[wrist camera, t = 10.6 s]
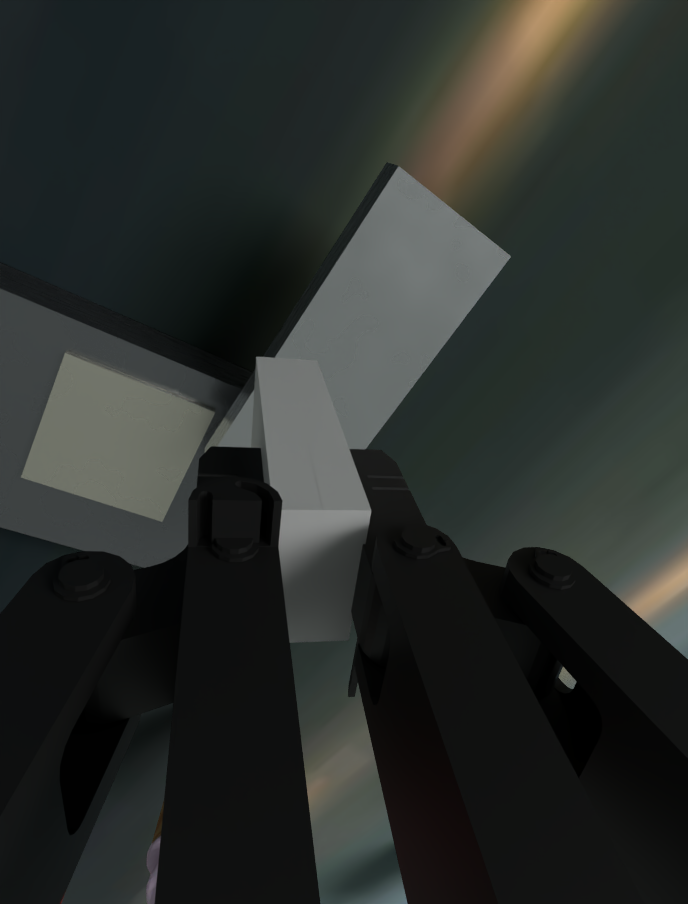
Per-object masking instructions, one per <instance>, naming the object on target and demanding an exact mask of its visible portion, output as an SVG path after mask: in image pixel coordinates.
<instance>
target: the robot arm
mask: <svg viewBox="0 0 688 904" xmlns="http://www.w3.org/2000/svg"><path fill="white" fill-rule="evenodd" d="M352 618H353V621H354V625H355V629H356V633H357V637H358V638H357V643H356V649H355V654H354V659H353V665H352V670H351V675H350V681H349V689H348V697H355V692H356V687H357V683H358V684H359V689H360V693H361V697H362V702H363V706H364V711H365V715H366V720H367V724H368V729H369V733H370V738H371V742H372V747H373V751H374V755H375V760H376V764H377V769H378V773H379V778H380V782H381V787H382V791H383V796H384V800H385V805H386V809H387V814H388V818H389V822H390V827H391V831H392V836H393V840H394V845H395V849H396V854H397V858H398V863H399V867H400V872H401V876H402V880H403V885H404V889H405V894H406V898H407V903H408V904H688V659H687V658H686V657H684V656H683V655H682V654H681V653H680V652H679V651H678V650H677V649H675V648H674V647H673V646H672V645H671V644H670V643H669V642H667V641H666V640H665V639H664V638H663V637H662V636H661V635H660V634H658V633H657V632H656V631H655V630H654V629H653V628H652V627H651V626H649V625H648V624H647V623H646V622H645V621H644V620H643V619H642V618H640V617H639V616H638V615H637V614H636V613H635V612H634V611H632V610H631V609H630V608H629V607H628V606H627V605H626V604H625V603H623V602H622V601H621V600H620V599H619V598H618V597H617V596H616V595H614V594H613V593H612V592H611V591H610V590H609V589H608V588H607V587H605V586H604V585H603V584H602V583H601V582H600V581H599V580H598V579H596V578H595V577H594V576H593V575H592V574H591V573H590V572H588V571H587V570H586V569H585V568H584V567H583V566H581V565H580V564H579V563H577V562H576V561H574V560H573V559H571V558H570V557H568V556H566V555H563V554H561V553H559V552H557V551H554V550H550V549H545V548H540V547H528V548H522V549H519V550H517V551H514V552H513V553H512V555H511V556H510V558H509V559H508V562H507V565H506V568H504V567H500V566H495V565H490V564H485V563H481V562H476V561H473V560H469V559H466V558H463V557H462V556H461V554H460V552H459V550H458V548H457V547H456V545H455V544H454V543H453V541H452V540H451V539H450V538H449V537H448V536H447V535H445V534H444V533H442V532H441V531H439V530H438V529H436V528H433V527H430V526H428V525H426V523H425V521H424V519H423V517H422V515H421V513H420V511H419V508H418V506H417V504H416V502H415V500H414V498H413V496H412V494H411V492H410V491H409V490H408V486H407V484H406V482H405V480H404V479H403V476H402V473H401V471H400V469H399V467H398V465H397V463H396V462H395V461H394V460H393V459H391V458H390V457H389V456H388V455H386V454H385V453H384V452H383V451H382V450H368V449H349V447H348V444H347V442H346V439H345V436H344V433H343V431H342V428H341V425H340V422H339V420H338V417H337V414H336V411H335V408H334V406H333V403H332V400H331V397H330V395H329V392H328V389H327V386H326V384H325V381H324V378H323V375H322V373H321V370H320V367H319V364H318V362H317V360H303V359H287V358H271V357H256V369H255V386H254V403H253V421H252V438H251V448H250V447H219V446H211V447H210V448H209V449H208V450H207V451H206V452H205V453H204V454H203V455H202V456H201V457H200V458H199V466H198V476H197V488H195V489H194V490H193V491H192V493H191V495H190V497H189V499H188V545H187V546H186V548H185V549H184V550H183V551H182V552H180V553H179V554H178V555H176V556H175V557H173V558H171V559H169V560H167V561H165V562H163V563H160V564H157V565H153V566H150V567H146V568H141V569H137V570H133V569H132V566H131V564H129V563H128V562H127V561H126V560H124V559H123V558H122V557H120V556H118V555H114V554H111V553H107V552H104V551H82V552H77V553H72V554H67V555H64V556H61V557H59V558H57V559H55V560H53V561H50V562H48V563H46V564H45V565H44V566H43V567H41V568H40V569H39V570H38V571H37V572H35V573H34V574H33V575H32V576H31V577H30V579H29V580H28V581H27V582H26V583H25V585H24V586H23V587H22V588H21V589H20V591H19V592H18V593H17V594H16V595H15V597H14V598H13V599H12V600H11V602H10V603H9V604H8V605H7V606H6V608H5V609H4V610H3V611H2V612H1V614H0V904H60V903H61V901H62V899H63V896H64V894H65V892H66V889H67V887H68V885H69V882H70V880H71V878H72V876H73V873H74V871H75V869H76V866H77V864H78V862H79V859H80V857H81V855H82V853H83V850H84V848H85V846H86V843H87V841H88V839H89V836H90V834H91V832H92V829H93V827H94V825H95V823H96V820H97V818H98V816H99V813H100V811H101V809H102V806H103V804H104V802H105V800H106V797H107V795H108V793H109V790H110V788H111V786H112V783H113V781H114V779H115V776H116V774H117V772H118V770H119V767H120V765H121V763H122V760H123V758H124V756H125V753H126V751H127V749H128V747H129V744H130V742H131V740H132V737H133V735H134V733H135V730H136V728H137V726H138V723H139V720H140V715H141V713H144V712H147V711H150V710H153V709H156V708H159V707H162V706H165V705H168V704H171V703H173V713H172V724H171V734H170V745H169V755H168V766H167V776H166V787H165V798H164V808H163V819H162V829H161V840H160V850H159V861H158V872H157V882H156V893H155V903H154V904H320V898H319V889H318V881H317V872H316V863H315V855H314V846H313V838H312V829H311V821H310V812H309V804H308V795H307V787H306V778H305V770H304V761H303V752H302V744H301V735H300V727H299V718H298V710H297V701H296V693H295V684H294V676H293V667H292V659H291V650H290V643H292V642H319V641H347V640H349V635H350V629H351V623H352ZM562 667H564V668H565V669H566V670H567V671H568V672H569V673H570V674H571V676H572V677H573V678H574V679H575V680H576V681H577V682H576V685H575V687H574V689H570V688H568V687H567V686H566V685H565V684H564V683H563V682H562V681H561V680H560V679H559V678H558V677H559V674H560V672H561V670H562Z"/></svg>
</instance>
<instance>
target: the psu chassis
mask: <svg viewBox="0 0 688 904" xmlns="http://www.w3.org/2000/svg"><path fill="white" fill-rule="evenodd" d="M252 373H253V372H252V371H250V370H247V369H245V368H243V367H240V366H238V365H236V364H234V363H231V362H229V361H227V360H224V359H222V358H220V357H217V356H215V355H213V354H210V353H208V352H206V351H204V350H201V349H199V348H197V347H194V346H192V345H190V344H187V343H185V342H183V341H180V340H178V339H176V338H174V337H171V336H169V335H167V334H164V333H162V332H160V331H157V330H155V329H153V328H151V327H148V326H146V325H144V324H141V323H139V322H137V321H134V320H132V319H130V318H127V317H125V316H123V315H121V314H118V313H116V312H114V311H111V310H109V309H107V308H104V307H102V306H100V305H98V304H95V303H93V302H91V301H88V300H86V299H84V298H81V297H79V296H77V295H74V294H72V293H70V292H68V291H65V290H63V289H61V288H58V287H56V286H54V285H51V284H49V283H47V282H45V281H42V280H40V279H38V278H35V277H33V276H31V275H28V274H26V273H24V272H21V271H19V270H17V269H15V268H12V267H10V266H8V265H5V264H3V263H1V262H0V527H1V528H5V529H8V530H12V531H15V532H19V533H23V534H26V535H30V536H33V537H37V538H40V539H44V540H47V541H51V542H55V543H58V544H62V545H65V546H69V547H72V548H76V549H79V550H83V551H104V552H107V553H111V554H114V555H118V556H120V557H122V558H123V559H124V560H126V561H127V562H128V563H129V564H133V565H136V566H140V567H143V568H146V567H150V566H153V565H157V564H160V563H163V562H165V561H167V560H169V559H171V558H173V557H175V556H176V555H178V554H179V553H180V552H182V551H183V550H184V549H185V548H186V546H187V545H188V499H189V497H190V495H191V493H192V491H193V490H194V489H195V488H197V476H198V466H199V458H200V457H201V456H202V455H203V454H204V452H205V447H206V445H207V444H208V442H209V440H210V439H211V437H212V436H213V434H214V433H215V431H216V429H217V428H218V426H219V425H220V423H221V422H222V420H223V418H224V417H225V415H226V414H227V412H228V411H229V409H230V408H231V406H232V404H233V403H234V401H235V400H236V398H237V397H238V395H239V393H240V392H241V390H242V389H243V387H244V386H245V384H246V382H247V381H248V379H249V378H250V376H251V375H252Z"/></svg>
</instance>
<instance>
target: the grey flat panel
mask: <svg viewBox="0 0 688 904" xmlns="http://www.w3.org/2000/svg"><path fill="white" fill-rule="evenodd" d="M510 257H511V256H510V255H509V254H507V253H506V252H505V251H504V250H502V249H501V248H500V247H499V246H497V245H496V244H495V243H494V242H492V241H491V240H490V239H489V238H487V237H486V236H485V235H484V234H482V233H481V232H480V231H479V230H477V229H476V228H475V227H474V226H472V225H471V224H470V223H469V222H468V221H466V220H465V219H464V218H463V217H461V216H460V215H459V214H458V213H456V212H455V211H454V210H453V209H451V208H450V207H449V206H448V205H446V204H445V203H444V202H443V201H441V200H440V199H439V198H438V197H436V196H435V195H434V194H433V193H431V192H430V191H429V190H428V189H427V188H425V187H424V186H423V185H422V184H420V183H419V182H418V181H417V180H415V179H414V178H413V177H412V176H410V175H409V174H408V173H407V172H405V171H404V170H403V169H402V168H400V167H399V166H397V165H394V164H391V163H386V165H385V166H384V168H383V169H382V171H381V172H380V174H379V176H378V177H377V179H376V180H375V182H374V183H373V185H372V187H371V188H370V190H369V191H368V193H367V194H366V196H365V198H364V199H363V201H362V202H361V204H360V205H359V207H358V209H357V210H356V212H355V213H354V215H353V216H352V218H351V219H350V221H349V223H348V224H347V226H346V227H345V229H344V230H343V232H342V234H341V235H340V237H339V238H338V240H337V241H336V243H335V245H334V246H333V248H332V249H331V251H330V252H329V254H328V256H327V257H326V259H325V260H324V262H323V263H322V265H321V266H320V268H319V270H318V271H317V273H316V274H315V276H314V277H313V279H312V281H311V282H310V284H309V285H308V287H307V288H306V290H305V292H304V293H303V295H302V296H301V298H300V299H299V301H298V303H297V304H296V306H295V307H294V309H293V310H292V312H291V313H290V315H289V317H288V318H287V320H286V321H285V323H284V324H283V326H282V328H281V329H280V331H279V332H278V334H277V335H276V337H275V339H274V340H273V342H272V343H271V345H270V346H269V348H268V350H267V351H266V353H265V354H264V356H263V357H271V358H287V359H303V360H317V362H318V364H319V367H320V370H321V373H322V375H323V378H324V381H325V384H326V386H327V389H328V392H329V395H330V397H331V400H332V403H333V406H334V408H335V411H336V414H337V417H338V420H339V422H340V425H341V428H342V431H343V433H344V436H345V439H346V442H347V444H348V447H349V449H366V448H367V446H368V445H369V444H370V442H371V441H372V440H373V438H374V437H375V436H376V434H377V433H378V432H379V430H380V429H381V428H382V426H383V425H384V424H385V422H386V421H387V420H388V418H389V417H390V416H391V414H392V413H393V412H394V411H395V409H396V408H397V407H398V405H399V404H400V403H401V401H402V400H403V399H404V397H405V396H406V395H407V393H408V392H409V391H410V389H411V388H412V387H413V385H414V384H415V383H416V381H417V380H418V379H419V377H420V376H421V375H422V374H423V372H424V371H425V370H426V368H427V367H428V366H429V364H430V363H431V362H432V360H433V359H434V358H435V356H436V355H437V354H438V352H439V351H440V350H441V348H442V347H443V346H444V344H445V343H446V342H447V340H448V339H449V338H450V337H451V335H452V334H453V333H454V331H455V330H456V329H457V327H458V326H459V325H460V323H461V322H462V321H463V319H464V318H465V317H466V315H467V314H468V313H469V311H470V310H471V309H472V307H473V306H474V305H475V303H476V302H477V301H478V299H479V298H480V297H481V296H482V294H483V293H484V292H485V290H486V289H487V288H488V286H489V285H490V284H491V282H492V281H493V280H494V278H495V277H496V276H497V274H498V273H499V272H500V270H501V269H502V268H503V266H504V265H505V264H506V262H507V261H508V260H509V259H510ZM255 369H256V368H255ZM254 386H255V370H254V371H253V373H252V375H251V376H250V378H249V379H248V381H247V382H246V384H245V386H244V387H243V389H242V390H241V392H240V393H239V395H238V397H237V398H236V400H235V401H234V403H233V404H232V406H231V408H230V409H229V411H228V412H227V414H226V415H225V417H224V418H223V420H222V422H221V423H220V425H219V426H218V428H217V429H216V431H215V433H214V434H213V436H212V437H211V439H210V440H209V442H208V444H207V445H206V447H205V452H206V451H207V450H208V449H209V448H210V447H211V446H219V447H250V448H251V438H252V421H253V403H254ZM205 452H204V453H205Z"/></svg>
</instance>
